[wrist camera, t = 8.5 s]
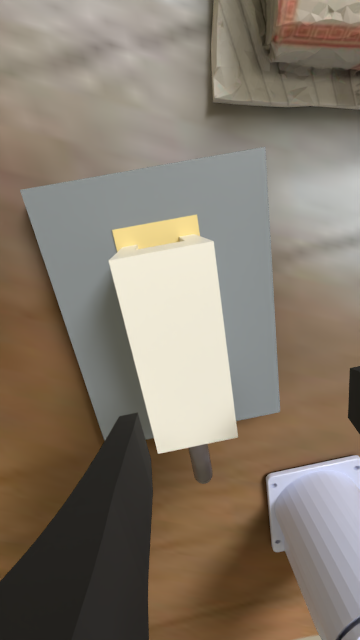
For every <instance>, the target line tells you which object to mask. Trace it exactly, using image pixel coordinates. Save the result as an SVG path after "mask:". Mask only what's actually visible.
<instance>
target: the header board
mask: <svg viewBox="0 0 360 640" xmlns="http://www.w3.org/2000/svg"><path fill="white" fill-rule="evenodd" d="M20 191H21V194H22V197H23V200H24V203H25V206H26V209H27V212H28V215H29V218H30V221H31V224H32V227H33V230H34V233H35V236H36V239H37V242H38V245H39V248H40V251H41V254H42V256H43V259H44V262H45V265H46V268H47V271H48V274H49V277H50V280H51V283H52V286H53V289H54V292H55V295H56V298H57V301H58V304H59V307H60V310H61V313H62V316H63V319H64V322H65V325H66V328H67V331H68V334H69V337H70V340H71V343H72V346H73V349H74V352H75V354H76V357H77V360H78V363H79V366H80V369H81V372H82V375H83V378H84V381H85V384H86V387H87V390H88V393H89V396H90V399H91V402H92V405H93V408H94V411H95V414H96V417H97V420H98V423H99V426H100V429H101V432H102V435H103V438H104V441H105V440H106V438H107V436H108V435H109V433H110V431H111V429H112V428H113V426H114V424H115V422H116V421H117V419H118V418H119V416H123V415H128V414H133V413H137V412H138V415H139V419H140V422H141V426H142V429H143V433H144V436H145V440H146V439H151V438H154V436H153V432H152V428H151V424H150V421H149V417H148V413H147V409H146V405H145V401H144V397H143V393H142V389H141V385H140V382H139V378H138V374H137V370H136V366H135V362H134V358H133V354H132V350H131V347H130V343H129V339H128V335H127V331H126V327H125V323H124V319H123V315H122V311H121V308H120V304H119V300H118V296H117V292H116V288H115V284H114V280H113V276H112V272H111V269H110V265H109V260H110V259H111V258H112V257H113V256H114V255H115V254H116V253H117V252H118V251H119V250H120V249H121V248H122V247H126V246H132V245H138V249H143V248H148V247H154V246H159V245H164V244H170V243H175V242H180V240H179V237H181V236H186V235H191V234H195V235H198V236H201V237H204V238H206V239H209V240H212V241H214V248H215V256H216V264H217V272H218V280H219V288H220V296H221V304H222V313H223V321H224V329H225V337H226V345H227V353H228V361H229V369H230V377H231V385H232V393H233V401H234V409H235V417H236V421H239V420H243V419H248V418H253V417H258V416H263V415H268V414H273V413H277V412H280V400H279V382H278V364H277V346H276V329H275V311H274V293H273V275H272V257H271V240H270V222H269V204H268V186H267V168H266V150H265V147H261V148H255V149H250V150H244V151H238V152H233V153H227V154H221V155H216V156H210V157H205V158H199V159H193V160H188V161H182V162H176V163H171V164H165V165H159V166H154V167H148V168H142V169H137V170H131V171H125V172H120V173H114V174H108V175H103V176H97V177H91V178H86V179H80V180H74V181H69V182H63V183H57V184H52V185H46V186H41V187H35V188H29V189H24V190H20Z"/></svg>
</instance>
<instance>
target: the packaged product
mask: <svg viewBox="0 0 360 640" xmlns="http://www.w3.org/2000/svg"><path fill="white" fill-rule="evenodd" d="M211 68H212V93H213V102H214V103H226V104H237V105H250V106H271V107H301V106H318V107H331V108H344V109H357V110H360V0H214V4H213V21H212V39H211Z"/></svg>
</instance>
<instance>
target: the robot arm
mask: <svg viewBox="0 0 360 640" xmlns="http://www.w3.org/2000/svg"><path fill="white" fill-rule="evenodd" d="M348 418H349V420H350V421H351V422H352V424H353V425H354V427H355V428H356V430H357V431H358V432H359V434H360V366H358V367H354V368H350V380H349V409H348ZM266 485H267V497H268V508H269V520H270V531H271V543H272V548H273V551H275V552H282V551H285V552H286V555H287V557H288V560H289V562H290V565H291V567H292V570H293V572H294V575H295V577H296V580H297V582H298V585H299V587H300V590H301V592H302V595H303V597H304V600H305V602H306V605H307V607H308V610H309V612H310V615H311V617H312V620H313V622H314V625H315V627H316V629H317V631H318V633H319V636H320V637H321V639H322V640H360V457H359V456H357V455H354V456H349V457H345V458H340V459H335V460H330V461H326V462H321V463H316V464H312V465H307V466H302V467H298V468H293V469H288V470H283V471H279V472H274V473H270V474H268V475H267V477H266ZM152 497H153V487H152V468H151V458H150V454H149V451H148V447H147V444H146V440H145V436H144V433H143V429H142V426H141V422H140V419H139V415H138V412H137V413H133V414H128V415H123V416H119V418H118V419H117V421H116V422H115V424H114V426H113V428H112V429H111V431H110V433H109V435H108V436H107V438H106V440H105V442H104V443H103V445H102V447H101V448H100V450H99V452H98V453H97V455H96V456H95V458H94V460H93V461H92V463H91V465H90V466H89V468H88V469H87V471H86V473H85V474H84V476H83V477H82V479H81V480H80V481H79V483H78V484H77V486H76V487H75V489H74V490H73V492H72V493H71V495H70V496H69V498H68V499H67V500H66V502H65V503H64V505H63V506H62V507H61V509H60V510H59V511H58V513H57V514H56V516H55V517H54V518H53V519H52V521H51V522H50V523H49V525H48V526H47V527H46V529H45V530H44V531H43V532H42V534H41V535H40V536H39V537H38V539H37V540H36V541H35V542H34V544H33V545H32V546H31V547H30V548H29V550H28V551H27V552H26V553H25V554H24V555H23V556H22V558H21V559H20V560H19V561H18V562H17V563H16V564H15V566H14V567H13V568H12V569H11V570H10V571H9V572H8V573H7V575H6V576H5V577H4V578H3V579H2V580H1V581H0V640H149V628H148V572H149V554H150V535H151V517H152Z"/></svg>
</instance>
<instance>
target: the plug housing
mask: <svg viewBox="0 0 360 640" xmlns="http://www.w3.org/2000/svg"><path fill="white" fill-rule="evenodd" d="M179 240H180V242H175V243H170V244H164V245H159V246H154V247H148V248H143V249H138V245H132V246H126V247H122V248H121V249H120V250H119V251H118V252H117V253H116V254H115V255H114V256H113V257H112V258H111V259H110V260H109V265H110V269H111V272H112V276H113V280H114V284H115V288H116V292H117V296H118V300H119V304H120V308H121V311H122V315H123V319H124V323H125V327H126V331H127V335H128V339H129V343H130V347H131V350H132V354H133V358H134V362H135V366H136V370H137V374H138V378H139V382H140V385H141V389H142V393H143V397H144V401H145V405H146V409H147V413H148V417H149V421H150V424H151V428H152V432H153V436H154V440H155V444H156V448H157V452H158V454H160V453H165V452H170V451H174V450H179V449H184V448H189V453H190V458H191V462H192V467H193V472H194V476H195V479H196V480H197V481H198V482H199V483H202V484H205V483H208V482H209V481H210V480H211V478H212V467H211V461H210V455H209V450H208V443H213V442H218V441H223V440H227V439H232V438H237V437H238V433H237V425H236V417H235V409H234V401H233V393H232V385H231V377H230V369H229V361H228V353H227V345H226V337H225V329H224V321H223V313H222V304H221V296H220V288H219V280H218V272H217V264H216V256H215V248H214V241H212V240H209V239H206V238H204V237H201V236H198V235H195V234H191V235H186V236H181V237H179Z"/></svg>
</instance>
